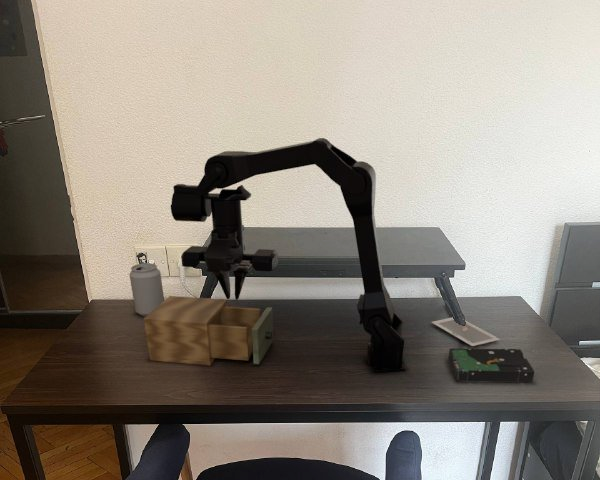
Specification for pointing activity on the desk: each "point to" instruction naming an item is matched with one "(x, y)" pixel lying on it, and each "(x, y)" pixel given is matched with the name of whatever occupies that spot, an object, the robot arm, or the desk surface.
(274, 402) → the desk surface
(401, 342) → the robot arm
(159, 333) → the cabinet
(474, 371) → the disk drive
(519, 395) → the desk surface
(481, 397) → the desk surface
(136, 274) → the can
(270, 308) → the drawer
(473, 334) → the touchpad
